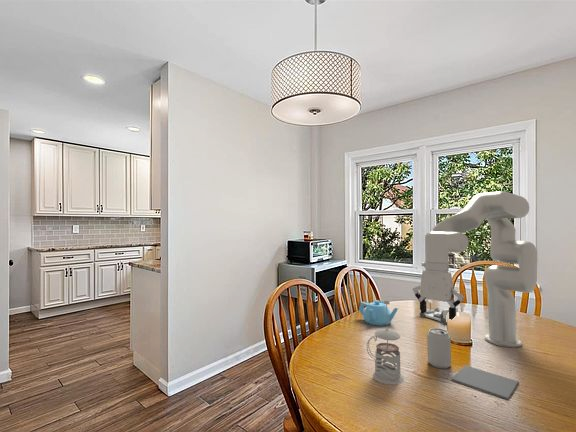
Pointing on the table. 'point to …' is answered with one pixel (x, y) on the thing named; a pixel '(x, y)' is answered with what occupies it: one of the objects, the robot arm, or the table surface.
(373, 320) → the teapot
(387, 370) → the french press
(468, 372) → the mat
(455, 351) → the table surface
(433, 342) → the can
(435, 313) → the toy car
